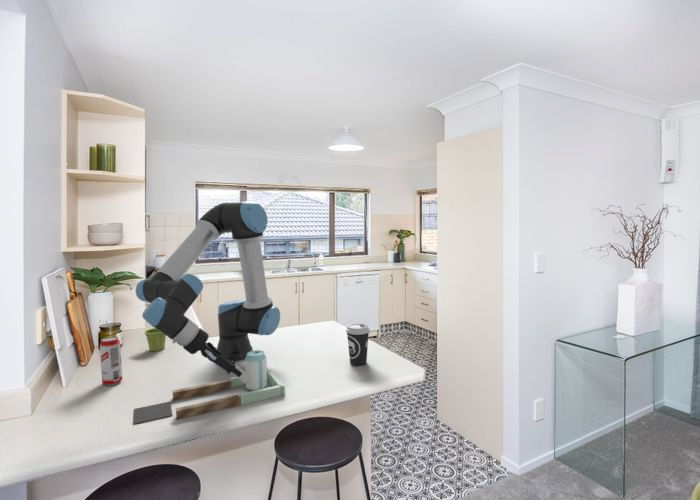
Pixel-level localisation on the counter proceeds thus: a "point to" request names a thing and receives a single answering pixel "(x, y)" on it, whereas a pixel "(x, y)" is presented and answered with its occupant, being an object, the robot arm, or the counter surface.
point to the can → (256, 370)
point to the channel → (204, 406)
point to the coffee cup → (358, 343)
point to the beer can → (111, 361)
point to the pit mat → (152, 412)
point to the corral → (260, 394)
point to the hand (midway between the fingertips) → (247, 379)
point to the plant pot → (155, 339)
